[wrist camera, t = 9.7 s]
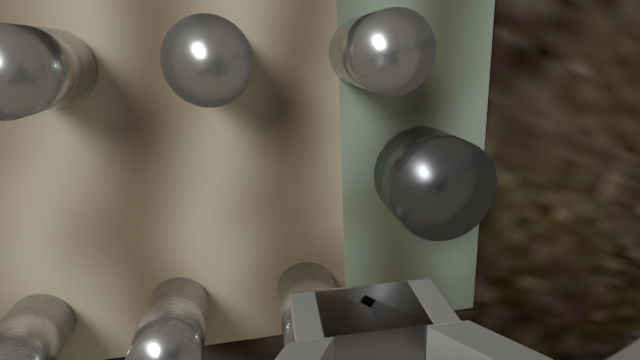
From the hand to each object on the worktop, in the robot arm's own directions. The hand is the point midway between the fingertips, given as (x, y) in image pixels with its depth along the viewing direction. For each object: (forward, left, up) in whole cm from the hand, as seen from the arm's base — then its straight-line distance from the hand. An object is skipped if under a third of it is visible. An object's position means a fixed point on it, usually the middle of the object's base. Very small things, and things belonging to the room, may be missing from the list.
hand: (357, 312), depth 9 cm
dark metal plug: (-6, 0, -11) cm, 12 cm away
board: (+3, 0, -12) cm, 12 cm away
